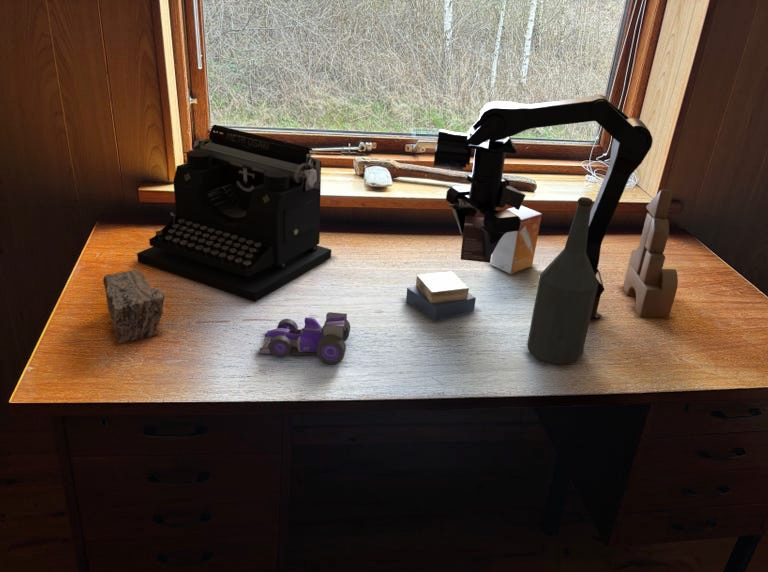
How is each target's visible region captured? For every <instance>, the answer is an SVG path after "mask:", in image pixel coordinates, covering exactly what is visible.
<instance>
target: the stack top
mask: <svg viewBox="0 0 768 572" xmlns="http://www.w3.org/2000/svg"><path fill="white" fill-rule="evenodd" d="M415 279H416V280H415V286H416V287H417V288H418V289H419V290H420V291H421V292H422V294H423V295H424V296H425V297H426V298H427V299H428V301H429V302H430V303H439V302H448V301H457V300H465V299H468V293H469V290H470V288H469V287H468V285H466V283H465V282H464V281H463V280H461V278H459V277H458V275H457V274H456V273H455V272H454V271H443V272H433V273H423V274H416V278H415Z"/></svg>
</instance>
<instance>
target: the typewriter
mask: <svg viewBox="0 0 768 572" xmlns="http://www.w3.org/2000/svg"><path fill="white" fill-rule="evenodd" d="M206 132H207V134H208V138H205V139H196V140H195V141H194V144H193V147H192V149H191V150H189V151H186V152H185V153H186V163H185V162H184V163H182V164H179V165H176V169H175V173H174V178H173V182H172V183H173V184H172V185H173V192H174V203H175V213H174V212H173V211H170V216H171V217H172V219H171V220H170V221H169V222H168V223H167V224H166V225H164V226H163V227H162V229H160V230H156V231H155V235H154V236H153V237H151V238H149V240H148V242H149V246H150V247H149V248H146V249H144V250H141V251H139V252H137V253H136V256H137V257H136V258H137V263H140V264H143V265H145V266H149V267H151V268H154V269H157V270H160V271H163V272H166V273H169V274H172V275H175V276H178V277H180V278H183V279H185V280H188V281H193V282H195V283H197V284H201V285H203V286H207V287H208V288H209V287H210V288H212V289H214V290H218V291H222V292H224V293H227V294H230V295H233V296H236V297H238V298H242V299H244V300H248V301H250V302H253V303H256V302H258V301H259V300H261V299H263V298H265V297H266V296H268V295H270V294H271V293H273V292H275V291H277V290H278V289H280V288H282V287H283V286H286V285H287V284H288V283H290V282H293V280H295V279H297V278H299V277H300V276H303V275H304V274H305V273H307V272H309V271H311V270H312V269H314V268H316V267H317V266H320V265H321V264H323V263H324V262H326V261H328V260H329V259H331V258H332V249H330V248H328V247H324V246H321V245H319V244H320V239H321V238H320V235H321V234H320V233H321V231H320V230H321V190H322V189H321V187H322V161H321V160H320V159H319V158H317V157H313V155H312V153H311V152H310V151H312V152H313V151H314V149H312V147H308V146H304V145H299V144H296V143H291V142H288V141H283V140H281V139H280V140H279V139H276V138H272V137H267V136H263V135H260V134H259V135H258V134H255V133H251V132H247V131H243V130H239V129H235V128H231V127H226V126H222V125H218V124H213V125H212V127H211V129H207V131H206Z"/></svg>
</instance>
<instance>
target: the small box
mask: <svg viewBox="0 0 768 572" xmlns="http://www.w3.org/2000/svg"><path fill="white" fill-rule="evenodd" d="M506 210H510V211H511V212H513V213H514V214H516V215H517V216H519V218H520V219H521V226H520V230H519V231H513V232H507V233H505V234H504V235H503V236H502V238H501V239H500V241H499V242H498V244H497V246H496V248H495V250H494V251H493V253H492V255H491V260H490V266H492V267H495V268H497V269H498V270H501V271H503V272H506V273H507V274H510V275H512V274H514V273H517V272H520V271H522V270H525V269H527V268H531V267H533V263H534V258H535V253H536V247H537V242H538V237H539V231H540V227H541V220H542V215H543V213H541V212H539V211H537V210H534V209H531V208H529V207H526V206H524V205H522V204H521V206H520V209H519V210H517V209H515V207H510V208H507V209H506Z"/></svg>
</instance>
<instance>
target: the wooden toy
mask: <svg viewBox="0 0 768 572" xmlns="http://www.w3.org/2000/svg"><path fill="white" fill-rule="evenodd" d="M673 195H674V190H672V189H661V190H659V191H658V192H657V194H656V195H655V196H654V197H653V198H652V199H651V200H650V201H649V202H648V204H647V205H646V206H645V209H646V210H647V211H648V212H647V213H646V216H645V220H644V224H643V228H642V232H641V236H640V240H639V244H638V246H637V248H636V249H632V250H631V252H630V257H629V261H628V264H627V267H626V273H625V277H624V280H623V284H622V289H623V291H624V293H625V294H626V296H635V307H634V309H635V311H636V313H637V315H638V316H639V317H640V318H666V319H667V318H668V319H669V318H670V315H671V311H672V308H673V304H674V301H675V298H676V295H677V291H678V284H679V277H678V271H677V269H676V268H663V267H664V265H665V260H666V255H665V254H664V252H665V250H666V245H667V242H668V238H669V235H670V222H669V219H668V218H667V217H668V213H669V211H670V206H671V203H672V199H673Z"/></svg>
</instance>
